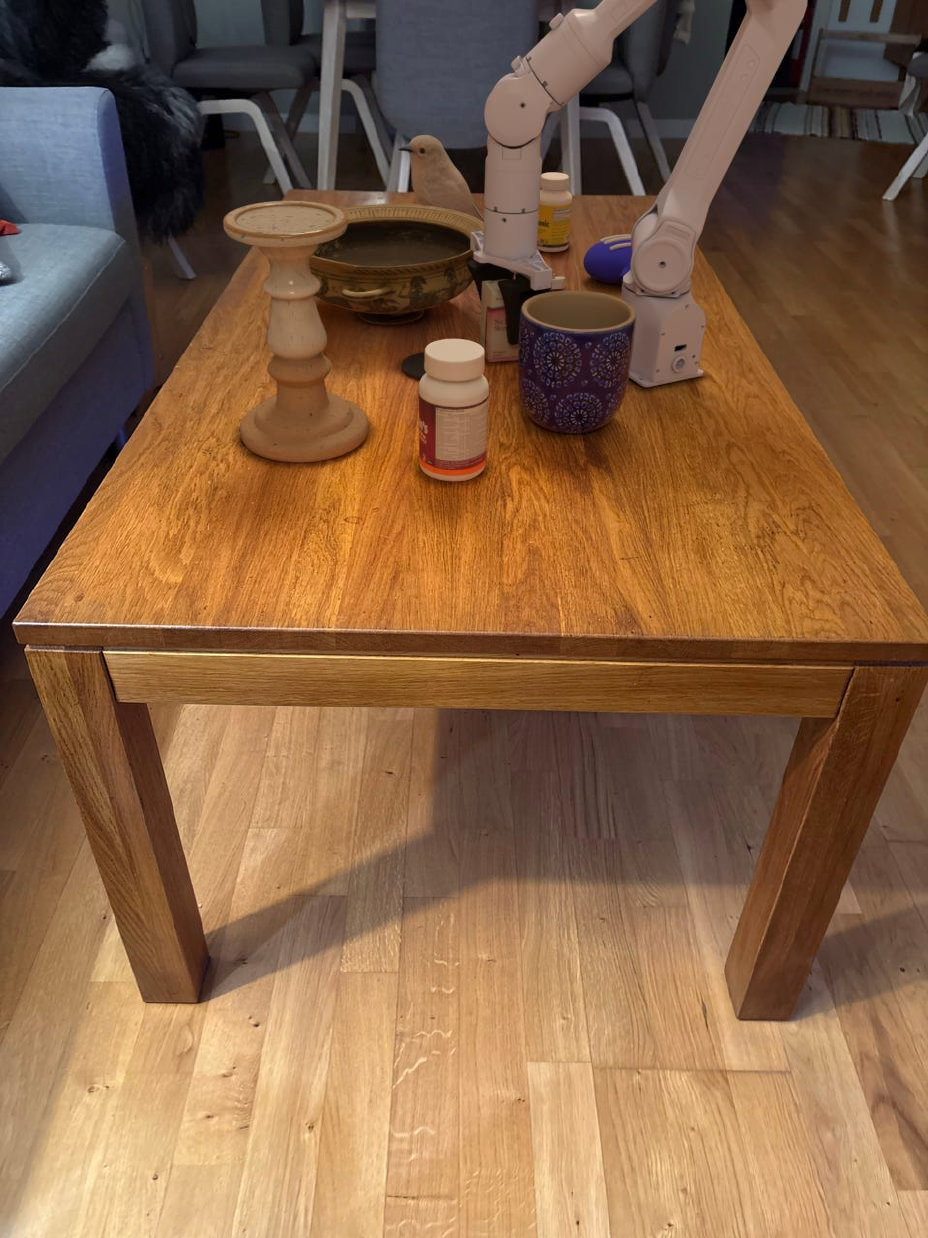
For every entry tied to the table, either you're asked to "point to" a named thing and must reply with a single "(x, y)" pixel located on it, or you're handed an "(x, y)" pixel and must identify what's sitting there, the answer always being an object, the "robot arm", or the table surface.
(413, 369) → the slate coaster
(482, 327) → the small box
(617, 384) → the planter
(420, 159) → the bird
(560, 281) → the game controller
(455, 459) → the pill bottle
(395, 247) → the ceramic bowl
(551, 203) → the supplement bottle
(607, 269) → the decorative object
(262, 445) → the candle holder
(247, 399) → the table surface
